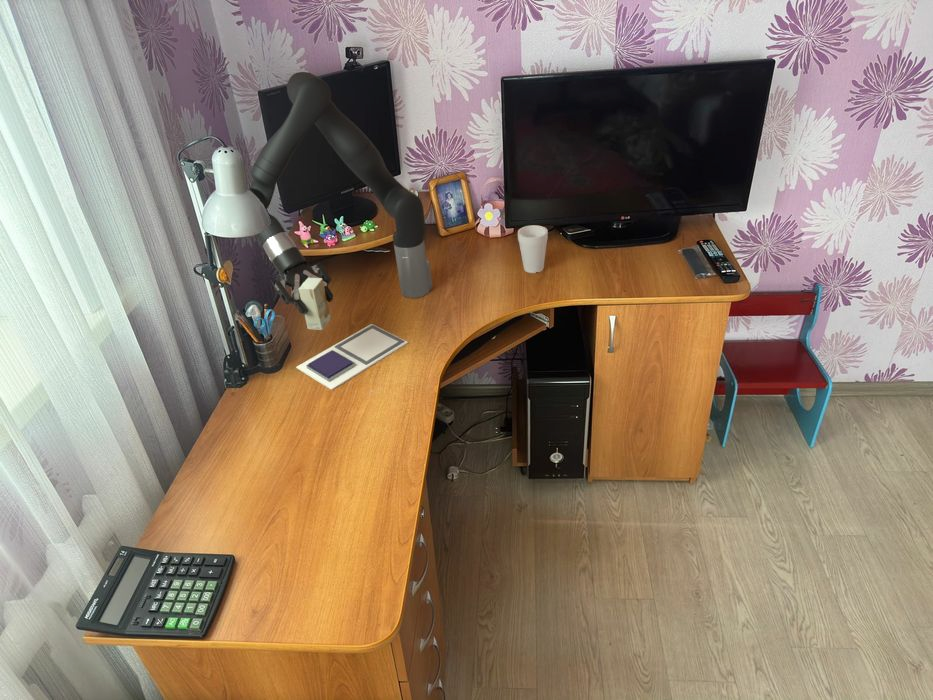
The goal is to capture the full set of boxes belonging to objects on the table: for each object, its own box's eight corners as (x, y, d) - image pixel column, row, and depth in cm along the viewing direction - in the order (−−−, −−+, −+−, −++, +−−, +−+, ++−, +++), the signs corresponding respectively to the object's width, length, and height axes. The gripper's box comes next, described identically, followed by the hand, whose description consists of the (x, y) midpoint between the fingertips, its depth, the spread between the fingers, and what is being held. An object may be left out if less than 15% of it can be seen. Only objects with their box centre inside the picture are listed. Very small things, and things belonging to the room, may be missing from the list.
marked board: (371, 324, 206) (371, 322, 206) (408, 343, 197) (407, 341, 196) (296, 368, 191) (295, 366, 191) (331, 390, 182) (331, 388, 181)
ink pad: (333, 353, 195) (332, 348, 194) (355, 365, 189) (354, 361, 188) (306, 368, 190) (305, 363, 189) (329, 381, 184) (328, 377, 183)
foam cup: (519, 261, 231) (518, 225, 224) (548, 261, 230) (547, 224, 223) (519, 275, 224) (517, 238, 216) (548, 275, 222) (547, 237, 215)
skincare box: (322, 330, 182) (313, 290, 175) (307, 329, 183) (297, 289, 176) (331, 317, 187) (323, 277, 180) (316, 316, 188) (307, 276, 181)
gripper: (263, 258, 174) (299, 313, 174) (310, 237, 182) (345, 290, 181) (257, 270, 180) (292, 324, 180) (303, 250, 188) (337, 301, 188)
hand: (318, 306), depth 181 cm, fingers closed on skincare box, 7 cm apart
